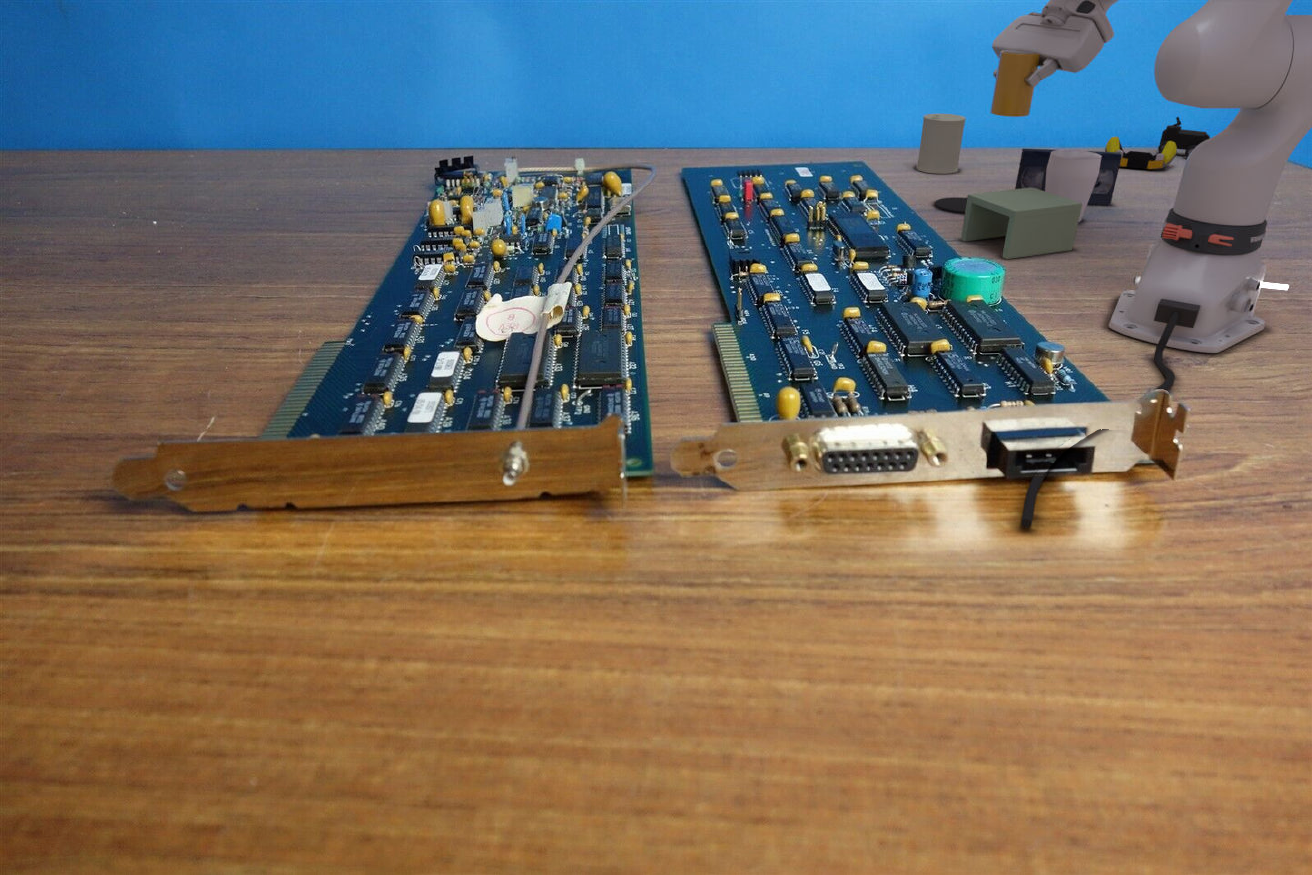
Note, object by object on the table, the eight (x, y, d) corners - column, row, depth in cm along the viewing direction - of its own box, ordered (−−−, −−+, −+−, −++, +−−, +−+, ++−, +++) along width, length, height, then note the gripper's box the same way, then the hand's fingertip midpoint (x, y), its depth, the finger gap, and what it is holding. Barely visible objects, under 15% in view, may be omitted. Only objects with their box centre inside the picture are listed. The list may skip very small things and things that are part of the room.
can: (907, 167, 215) (914, 113, 210) (939, 163, 219) (947, 110, 213) (934, 175, 208) (942, 119, 202) (966, 171, 211) (975, 116, 206)
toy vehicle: (1161, 150, 234) (1170, 113, 229) (1228, 157, 226) (1239, 120, 222) (1154, 155, 228) (1164, 118, 224) (1223, 163, 220) (1234, 125, 216)
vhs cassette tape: (1013, 200, 189) (1023, 150, 184) (1012, 197, 192) (1021, 147, 187) (1111, 206, 185) (1123, 155, 180) (1108, 202, 188) (1120, 152, 183)
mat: (977, 217, 178) (978, 214, 178) (924, 207, 184) (925, 204, 184) (1001, 206, 185) (1002, 203, 185) (949, 197, 191) (950, 194, 191)
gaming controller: (1103, 158, 224) (1100, 166, 217) (1108, 135, 222) (1106, 142, 214) (1172, 165, 219) (1172, 173, 211) (1178, 140, 216) (1178, 148, 208)
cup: (1092, 227, 172) (1107, 161, 166) (1040, 224, 174) (1054, 158, 168) (1082, 214, 180) (1096, 150, 174) (1033, 211, 182) (1046, 148, 176)
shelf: (1023, 231, 170) (1031, 187, 166) (1072, 250, 160) (1082, 203, 156) (960, 239, 165) (967, 194, 161) (1006, 259, 155) (1015, 211, 151)
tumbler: (1020, 118, 159) (1031, 55, 154) (983, 113, 163) (994, 51, 158) (1035, 113, 163) (1046, 51, 159) (999, 108, 167) (1009, 48, 162)
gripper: (1019, -2, 165) (965, 60, 167) (1108, 7, 149) (1047, 75, 150) (1034, 25, 169) (981, 85, 170) (1122, 36, 152) (1062, 103, 154)
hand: (1012, 81), depth 160 cm, fingers closed on tumbler, 6 cm apart
